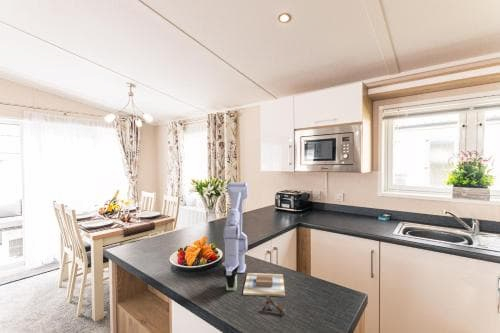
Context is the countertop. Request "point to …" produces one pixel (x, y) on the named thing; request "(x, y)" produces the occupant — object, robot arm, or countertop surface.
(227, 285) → the green block
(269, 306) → the brown triangle frame
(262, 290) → the build board
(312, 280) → the countertop surface
